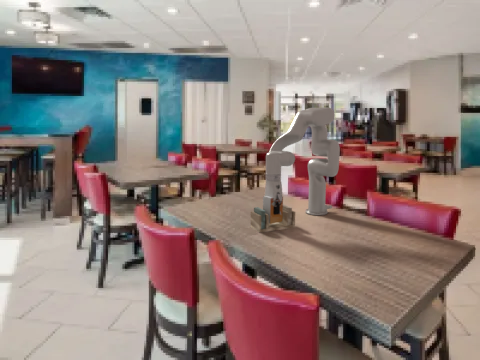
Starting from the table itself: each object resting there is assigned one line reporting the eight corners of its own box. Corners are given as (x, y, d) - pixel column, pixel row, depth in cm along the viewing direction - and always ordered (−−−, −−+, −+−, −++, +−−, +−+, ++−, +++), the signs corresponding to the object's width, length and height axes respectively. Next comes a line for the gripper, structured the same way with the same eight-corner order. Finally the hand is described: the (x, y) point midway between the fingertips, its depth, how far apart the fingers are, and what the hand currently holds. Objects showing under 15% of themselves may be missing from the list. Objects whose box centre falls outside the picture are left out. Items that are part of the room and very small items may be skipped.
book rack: (284, 222, 200) (285, 203, 198) (294, 227, 191) (295, 207, 189) (250, 227, 192) (250, 207, 191) (259, 232, 183) (259, 212, 181)
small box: (270, 224, 186) (270, 198, 184) (262, 221, 192) (262, 195, 189) (282, 221, 191) (283, 196, 189) (275, 218, 196) (275, 194, 194)
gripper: (289, 179, 181) (288, 215, 184) (271, 174, 197) (271, 208, 200) (275, 180, 178) (274, 217, 181) (258, 175, 194) (258, 209, 197)
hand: (272, 212), depth 190 cm, fingers closed on small box, 6 cm apart
